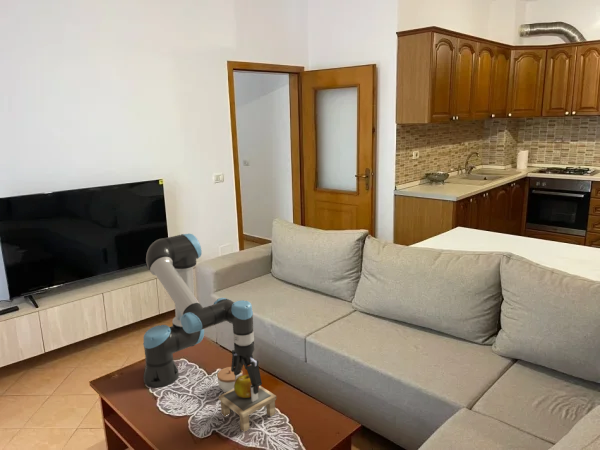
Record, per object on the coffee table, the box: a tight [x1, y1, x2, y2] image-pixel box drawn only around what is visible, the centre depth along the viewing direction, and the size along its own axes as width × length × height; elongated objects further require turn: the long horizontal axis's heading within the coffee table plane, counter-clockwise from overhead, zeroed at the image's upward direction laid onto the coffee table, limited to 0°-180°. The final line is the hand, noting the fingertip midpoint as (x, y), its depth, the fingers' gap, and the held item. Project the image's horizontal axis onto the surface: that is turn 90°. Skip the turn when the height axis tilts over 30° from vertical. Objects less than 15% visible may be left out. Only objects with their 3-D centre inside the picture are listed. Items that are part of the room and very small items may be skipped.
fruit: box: [234, 374, 259, 398], centre depth 177 cm, size 10×9×8 cm
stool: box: [218, 385, 277, 433], centre depth 179 cm, size 16×16×8 cm
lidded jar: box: [216, 366, 244, 393], centre depth 196 cm, size 11×11×9 cm
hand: (247, 394), depth 178 cm, fingers closed on fruit, 9 cm apart
